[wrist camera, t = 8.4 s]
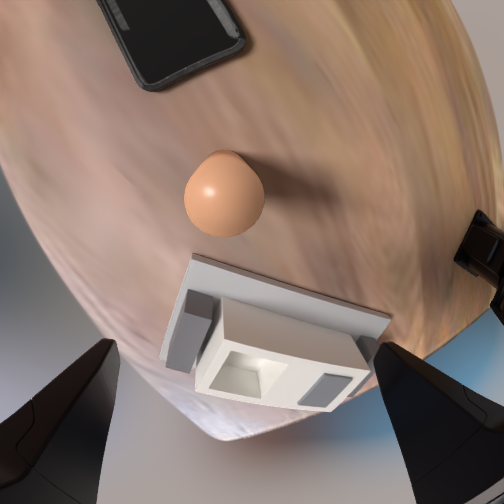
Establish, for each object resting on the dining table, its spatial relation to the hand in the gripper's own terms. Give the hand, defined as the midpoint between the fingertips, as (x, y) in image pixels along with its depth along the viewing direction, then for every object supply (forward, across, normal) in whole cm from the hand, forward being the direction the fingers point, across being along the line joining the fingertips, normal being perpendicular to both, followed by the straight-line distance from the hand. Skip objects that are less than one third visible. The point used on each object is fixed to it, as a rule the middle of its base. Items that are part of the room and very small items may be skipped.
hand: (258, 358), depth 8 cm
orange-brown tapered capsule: (+13, +1, -4) cm, 14 cm away
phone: (+14, +8, -17) cm, 23 cm away
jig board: (+13, -5, +11) cm, 18 cm away
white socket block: (+12, -5, +10) cm, 17 cm away
